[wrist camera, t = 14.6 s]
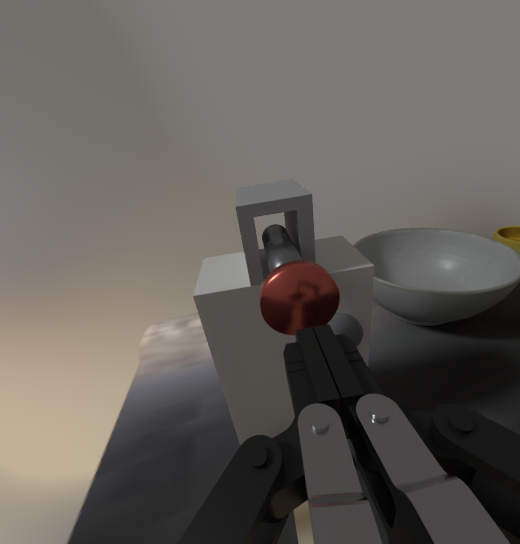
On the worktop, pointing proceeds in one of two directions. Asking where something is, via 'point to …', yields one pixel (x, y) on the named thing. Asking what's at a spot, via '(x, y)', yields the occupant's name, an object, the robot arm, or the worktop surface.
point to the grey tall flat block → (247, 314)
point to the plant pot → (508, 236)
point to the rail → (303, 524)
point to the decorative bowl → (438, 273)
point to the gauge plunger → (294, 287)
